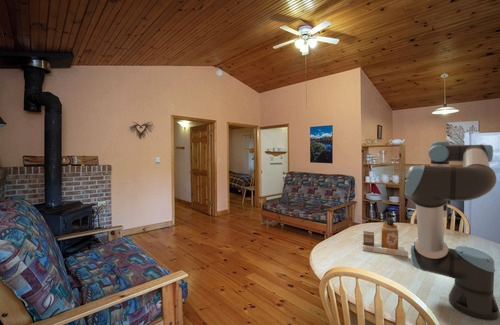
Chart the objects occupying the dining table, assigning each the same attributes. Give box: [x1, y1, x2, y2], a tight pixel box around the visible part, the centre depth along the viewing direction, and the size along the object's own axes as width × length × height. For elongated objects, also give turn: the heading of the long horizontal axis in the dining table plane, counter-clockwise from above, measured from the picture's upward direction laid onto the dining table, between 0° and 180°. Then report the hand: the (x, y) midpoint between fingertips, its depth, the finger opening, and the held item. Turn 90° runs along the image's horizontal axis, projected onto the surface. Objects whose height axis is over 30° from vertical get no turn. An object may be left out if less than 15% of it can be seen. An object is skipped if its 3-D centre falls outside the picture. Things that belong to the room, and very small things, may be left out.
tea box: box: [362, 230, 375, 246], centre depth 158 cm, size 6×6×9 cm
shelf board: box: [361, 241, 409, 259], centre depth 155 cm, size 14×24×4 cm, turn 66°
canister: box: [380, 216, 399, 250], centre depth 153 cm, size 9×11×20 cm
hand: (438, 213), depth 126 cm, fingers open, 13 cm apart
